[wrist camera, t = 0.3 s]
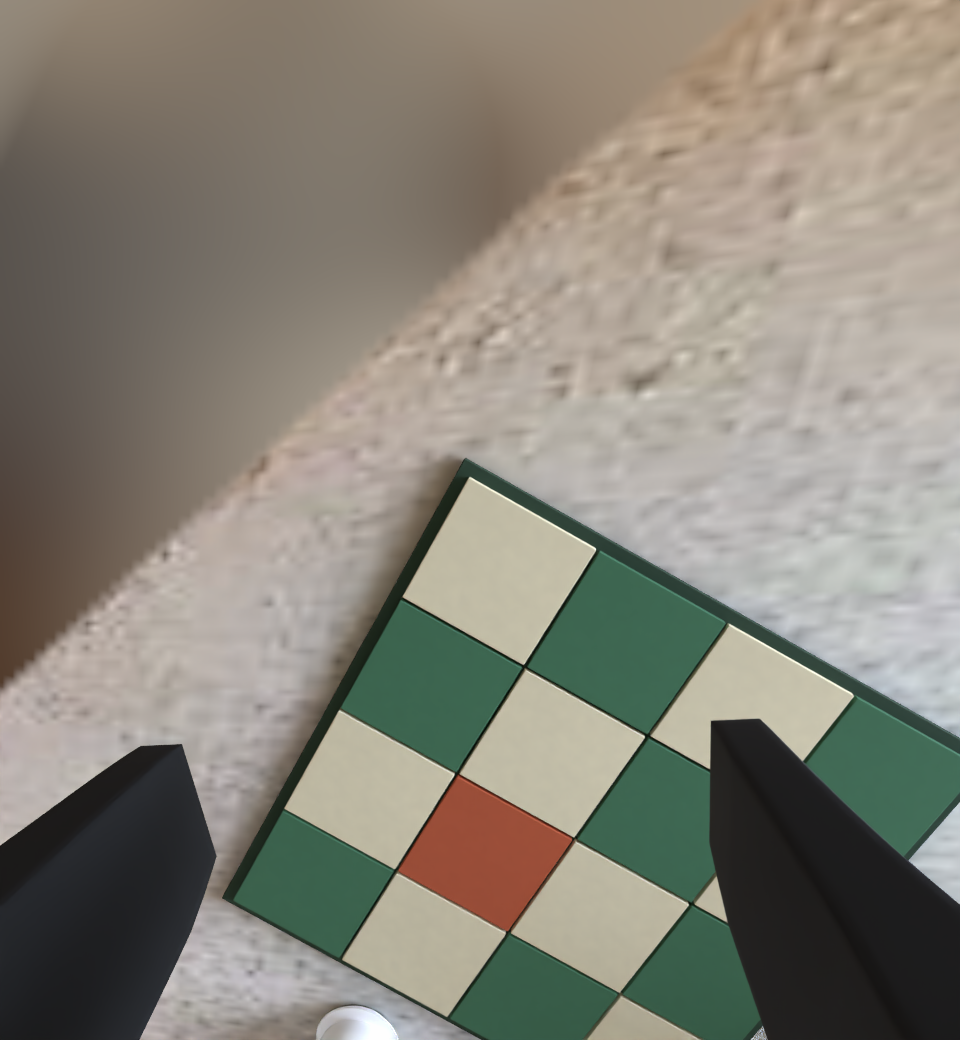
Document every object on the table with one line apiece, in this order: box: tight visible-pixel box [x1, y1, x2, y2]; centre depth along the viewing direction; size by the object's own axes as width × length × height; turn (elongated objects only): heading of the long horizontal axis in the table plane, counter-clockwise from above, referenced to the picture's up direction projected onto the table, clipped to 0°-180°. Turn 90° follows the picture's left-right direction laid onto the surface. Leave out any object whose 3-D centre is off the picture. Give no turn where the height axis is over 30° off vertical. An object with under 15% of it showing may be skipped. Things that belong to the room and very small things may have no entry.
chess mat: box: [222, 458, 960, 1040], centre depth 21 cm, size 17×17×1 cm
